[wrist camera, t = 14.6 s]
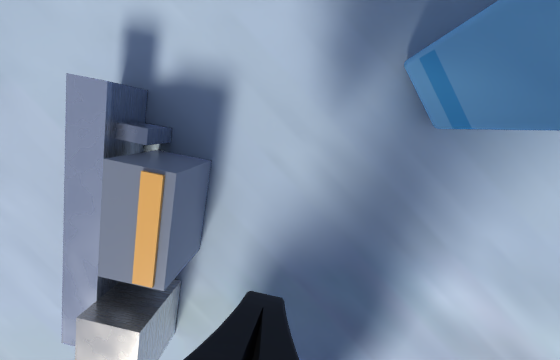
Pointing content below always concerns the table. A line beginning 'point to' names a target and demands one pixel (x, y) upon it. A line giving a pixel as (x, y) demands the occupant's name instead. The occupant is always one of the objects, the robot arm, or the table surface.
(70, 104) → the rail
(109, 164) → the block
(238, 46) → the table surface
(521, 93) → the data package
